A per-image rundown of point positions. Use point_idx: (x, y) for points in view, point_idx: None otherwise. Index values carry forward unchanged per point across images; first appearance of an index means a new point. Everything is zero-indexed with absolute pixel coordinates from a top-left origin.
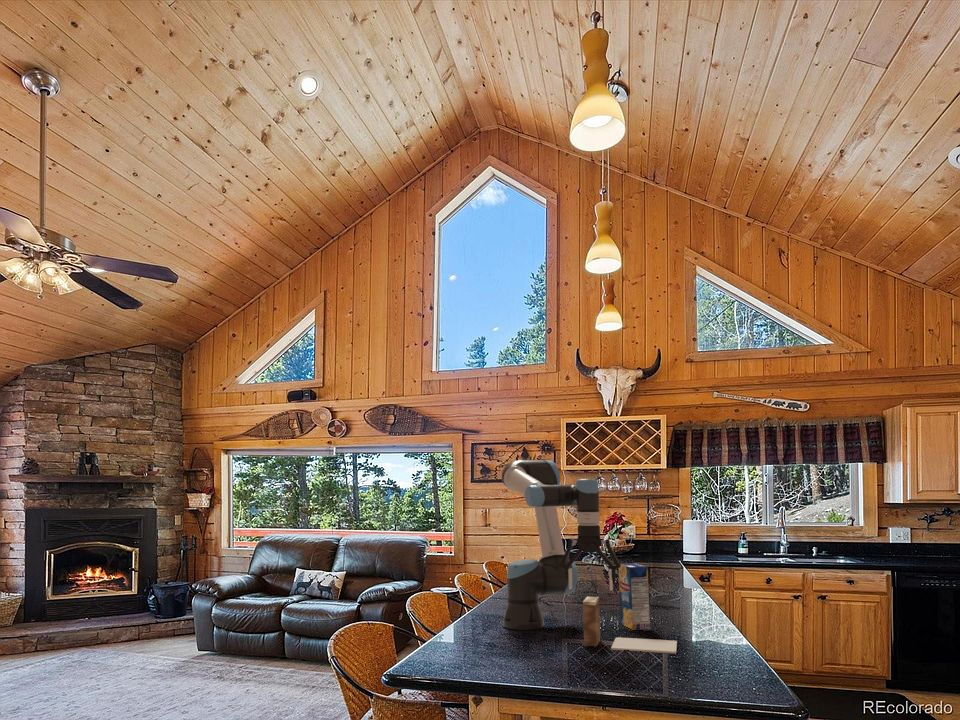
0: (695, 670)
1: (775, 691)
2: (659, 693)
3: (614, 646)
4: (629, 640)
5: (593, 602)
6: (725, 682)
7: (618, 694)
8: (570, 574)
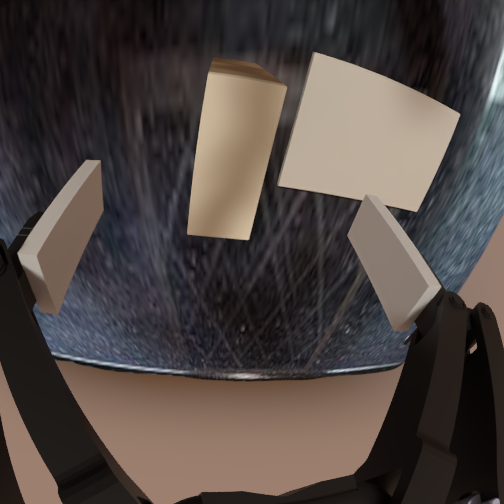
0: None
1: None
2: (300, 369)
3: (290, 171)
4: (350, 98)
5: (241, 237)
6: None
7: (252, 377)
8: (69, 281)
